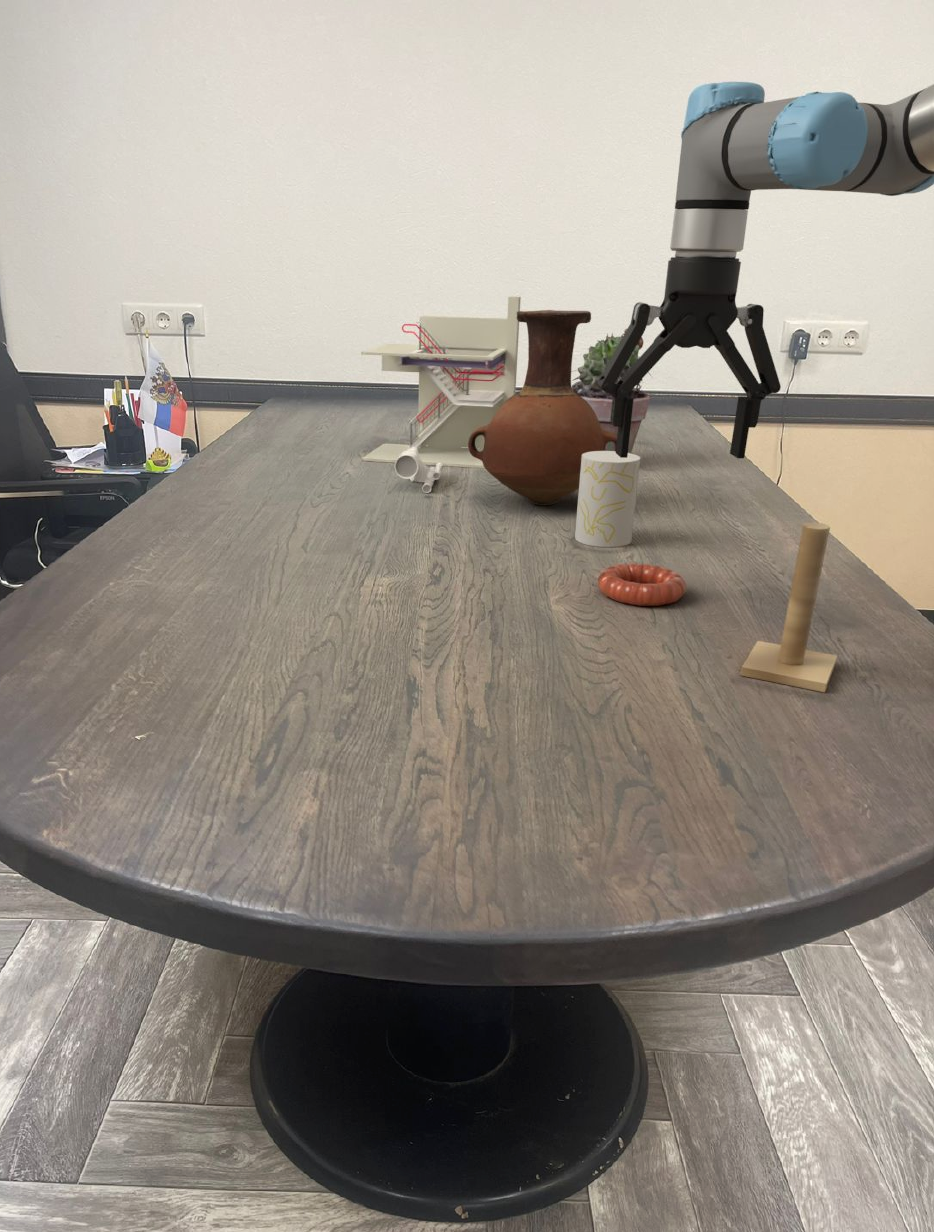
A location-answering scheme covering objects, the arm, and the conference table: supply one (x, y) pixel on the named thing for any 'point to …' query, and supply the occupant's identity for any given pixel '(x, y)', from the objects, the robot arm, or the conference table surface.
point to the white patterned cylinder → (606, 498)
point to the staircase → (454, 383)
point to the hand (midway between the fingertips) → (679, 456)
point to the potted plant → (602, 399)
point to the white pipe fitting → (417, 469)
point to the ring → (641, 584)
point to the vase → (543, 417)
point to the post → (797, 625)
